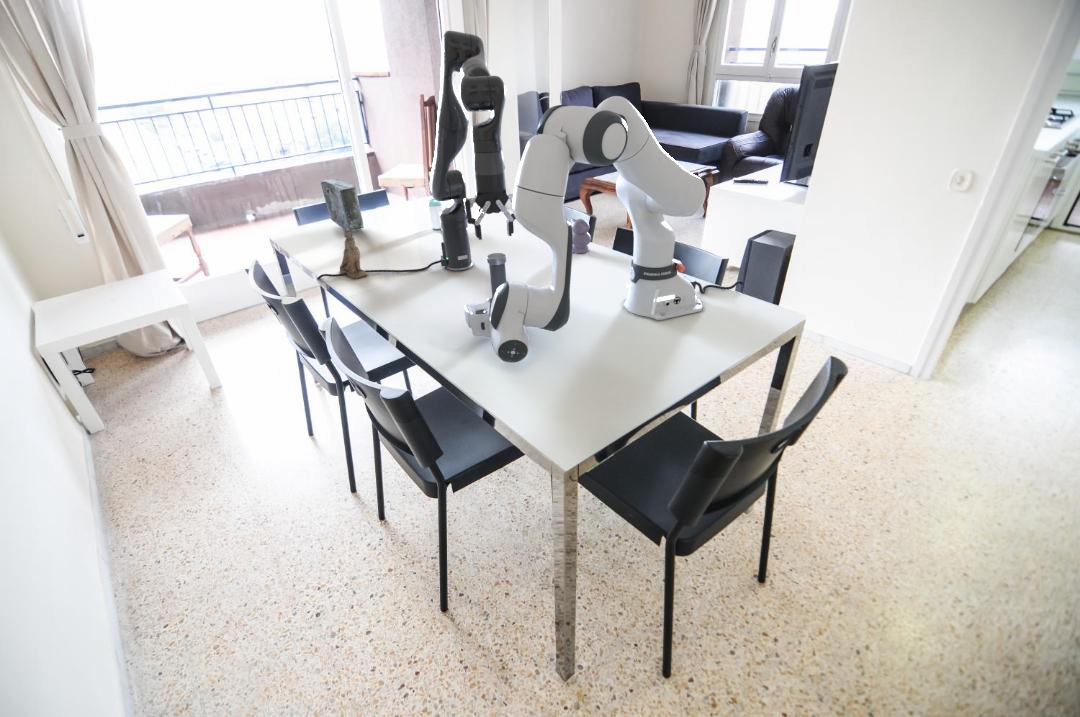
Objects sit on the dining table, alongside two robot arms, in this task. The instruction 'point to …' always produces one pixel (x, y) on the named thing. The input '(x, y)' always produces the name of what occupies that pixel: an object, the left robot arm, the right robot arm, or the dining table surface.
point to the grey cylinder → (497, 276)
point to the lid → (496, 259)
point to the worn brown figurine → (351, 258)
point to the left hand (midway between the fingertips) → (494, 236)
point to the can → (435, 213)
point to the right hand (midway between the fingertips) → (499, 299)
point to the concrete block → (342, 204)
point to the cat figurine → (580, 235)
